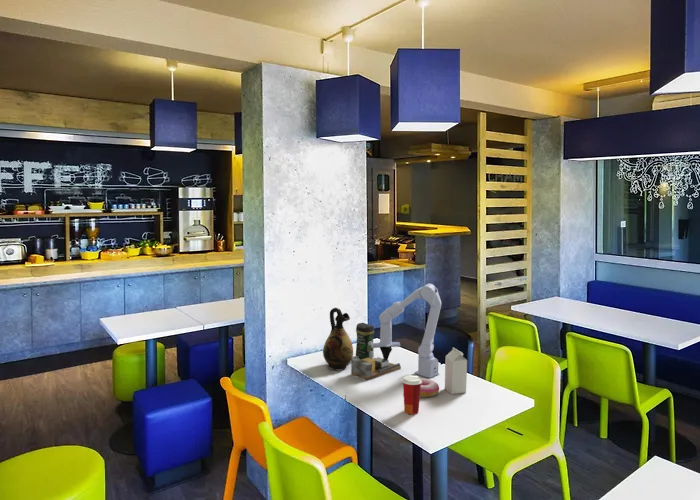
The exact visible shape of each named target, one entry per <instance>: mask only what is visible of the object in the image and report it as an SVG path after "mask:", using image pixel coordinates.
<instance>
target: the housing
mask: <svg viewBox="0 0 700 500" xmlns="http://www.w3.org/2000/svg"><path fill="white" fill-rule="evenodd" d="M361 360H362V361H365V362H368V363H371V364H372V372H375V359H374V358H365V359H361Z"/></svg>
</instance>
